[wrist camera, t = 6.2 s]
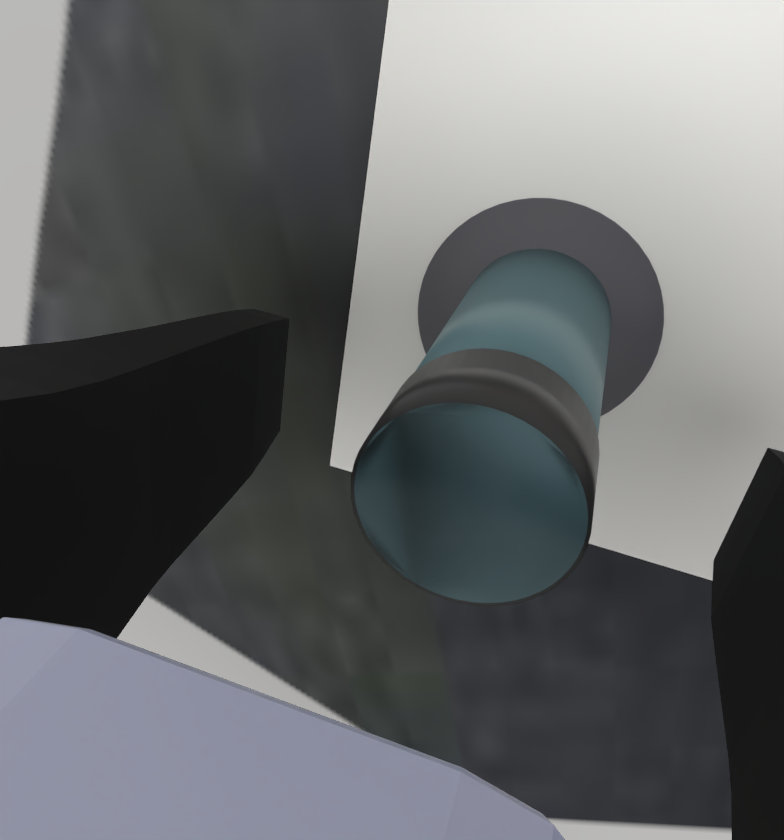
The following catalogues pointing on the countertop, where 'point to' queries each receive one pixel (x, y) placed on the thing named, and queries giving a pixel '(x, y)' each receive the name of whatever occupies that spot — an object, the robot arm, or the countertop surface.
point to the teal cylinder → (494, 439)
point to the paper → (592, 229)
